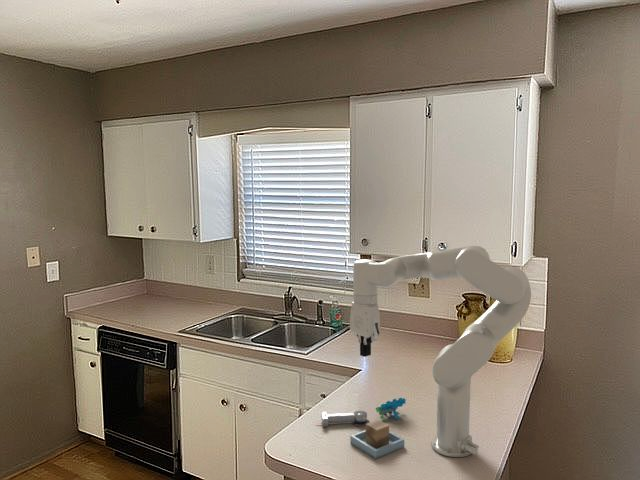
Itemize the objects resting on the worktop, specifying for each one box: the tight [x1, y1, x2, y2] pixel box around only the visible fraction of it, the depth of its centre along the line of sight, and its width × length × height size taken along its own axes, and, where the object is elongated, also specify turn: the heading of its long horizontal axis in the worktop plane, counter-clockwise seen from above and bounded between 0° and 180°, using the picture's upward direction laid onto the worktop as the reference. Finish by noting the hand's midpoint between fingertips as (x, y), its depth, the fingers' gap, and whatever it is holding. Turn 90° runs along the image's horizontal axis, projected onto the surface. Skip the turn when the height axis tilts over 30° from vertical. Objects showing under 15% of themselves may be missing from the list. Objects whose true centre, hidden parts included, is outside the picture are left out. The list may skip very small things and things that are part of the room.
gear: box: [375, 397, 407, 422], centre depth 178 cm, size 11×6×10 cm
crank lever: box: [321, 410, 368, 427], centre depth 175 cm, size 15×5×3 cm, turn 95°
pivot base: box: [315, 419, 370, 428], centre depth 174 cm, size 6×18×1 cm, turn 106°
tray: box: [349, 429, 405, 460], centre depth 160 cm, size 12×12×2 cm
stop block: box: [365, 419, 390, 449], centre depth 160 cm, size 5×5×6 cm
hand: (365, 355), depth 167 cm, fingers closed
